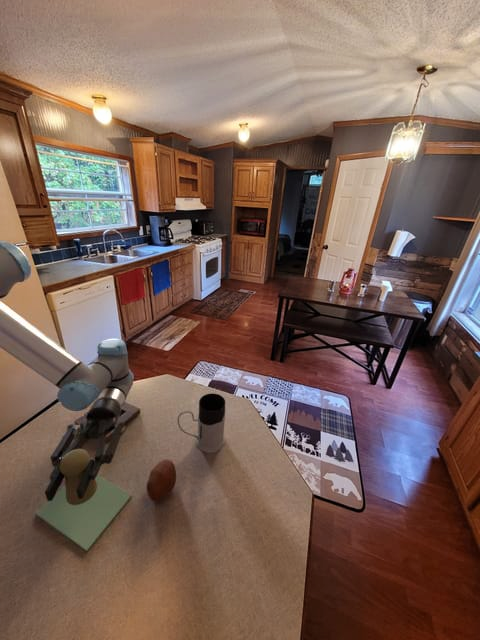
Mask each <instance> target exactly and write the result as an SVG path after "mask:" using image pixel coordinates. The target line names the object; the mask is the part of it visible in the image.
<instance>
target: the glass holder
mask: <svg viewBox="0 0 480 640" xmlns="http://www.w3.org/2000/svg"><path fill="white" fill-rule="evenodd" d="M186 413H189V414H191V419H192V422H197V434H196V433H195V434H194V433H193V432H189V431H187V430H185V429H184V428H183V427H182V426H181V424H180V417H181V416H182V415H183V414H186ZM176 419H177V420H176V421H177V425H178V427H179V429H180V431H181V432H182V433H184V434H186V435H188V436H191V437H193V438H195V443H196V446H197V448H198V449H199V450H200V451H201V452H204V453H210V454H211V453H217V452H219V451H220V450H221V449H222V448H223V447H224V445H225V441H226V440H225V436H224V434H225V422H226V421H225V420H226V399H225V398H224V397H223V396H222V395H220V394H218V393H212V392H211V393H206V394H204V395H202V396H201V397H200V398H199V401H198V415H197V418H195V416H194V412H192V411H191V410H189V409H186V410H182V411H181V412H179V414H178V415H177V418H176ZM222 446H223V447H222Z"/></svg>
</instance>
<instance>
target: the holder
mask: <svg viewBox="0 0 480 640" xmlns="http://www.w3.org/2000/svg"><path fill="white" fill-rule="evenodd" d="M88 412H89V410H88V411H86V412H85V413H84V414H82V415H81V416H80V417H79V418H77V419H76V420H74V421H73V423H74V426H75V425H79V424H81V422H82V421H84V420H85V419H86V416H87V414H88ZM140 415H141V408H140V407H137V406H135V405H133V404H130V403H128V402H126V401H125V402H124V405H123V407H122V410H121V412H120V415H119V417H118V419H117V422H116V423H118V424H120V423H121V422H124V424H125V428H126V427H127V426H128V425H130V424H131V423H132V422H133V421H134V420H135V419H136V418H137V417H138V416H140ZM113 432H114V430H112V431H111V432H110V433H108V434H107V435H106V440H105V444H109V442H110V440H111V437H112V435H113Z"/></svg>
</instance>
